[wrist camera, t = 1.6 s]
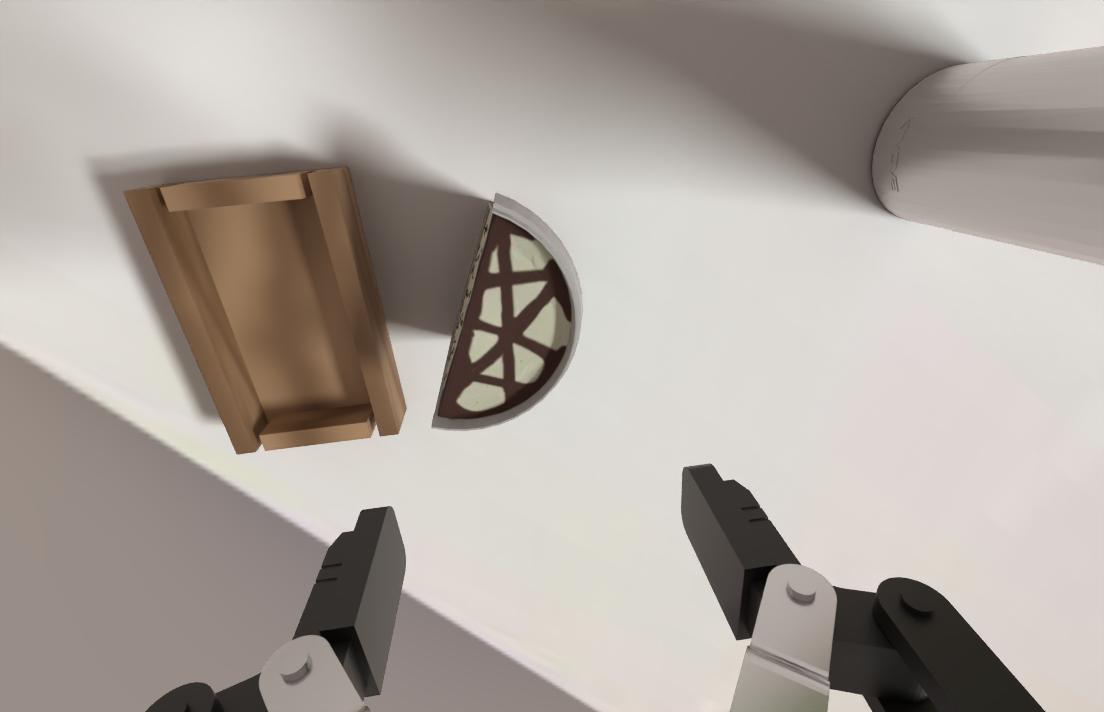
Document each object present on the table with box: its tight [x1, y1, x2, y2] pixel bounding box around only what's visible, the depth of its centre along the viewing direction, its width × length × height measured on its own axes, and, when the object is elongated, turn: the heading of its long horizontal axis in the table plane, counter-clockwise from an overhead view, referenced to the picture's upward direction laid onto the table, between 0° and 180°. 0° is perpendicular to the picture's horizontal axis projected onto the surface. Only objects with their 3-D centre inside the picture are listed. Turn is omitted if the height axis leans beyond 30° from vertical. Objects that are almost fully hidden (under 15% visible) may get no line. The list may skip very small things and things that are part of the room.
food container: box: [431, 193, 583, 431], centre depth 28 cm, size 12×6×10 cm, turn 161°
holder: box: [123, 167, 407, 454], centre depth 31 cm, size 10×16×3 cm, turn 5°
